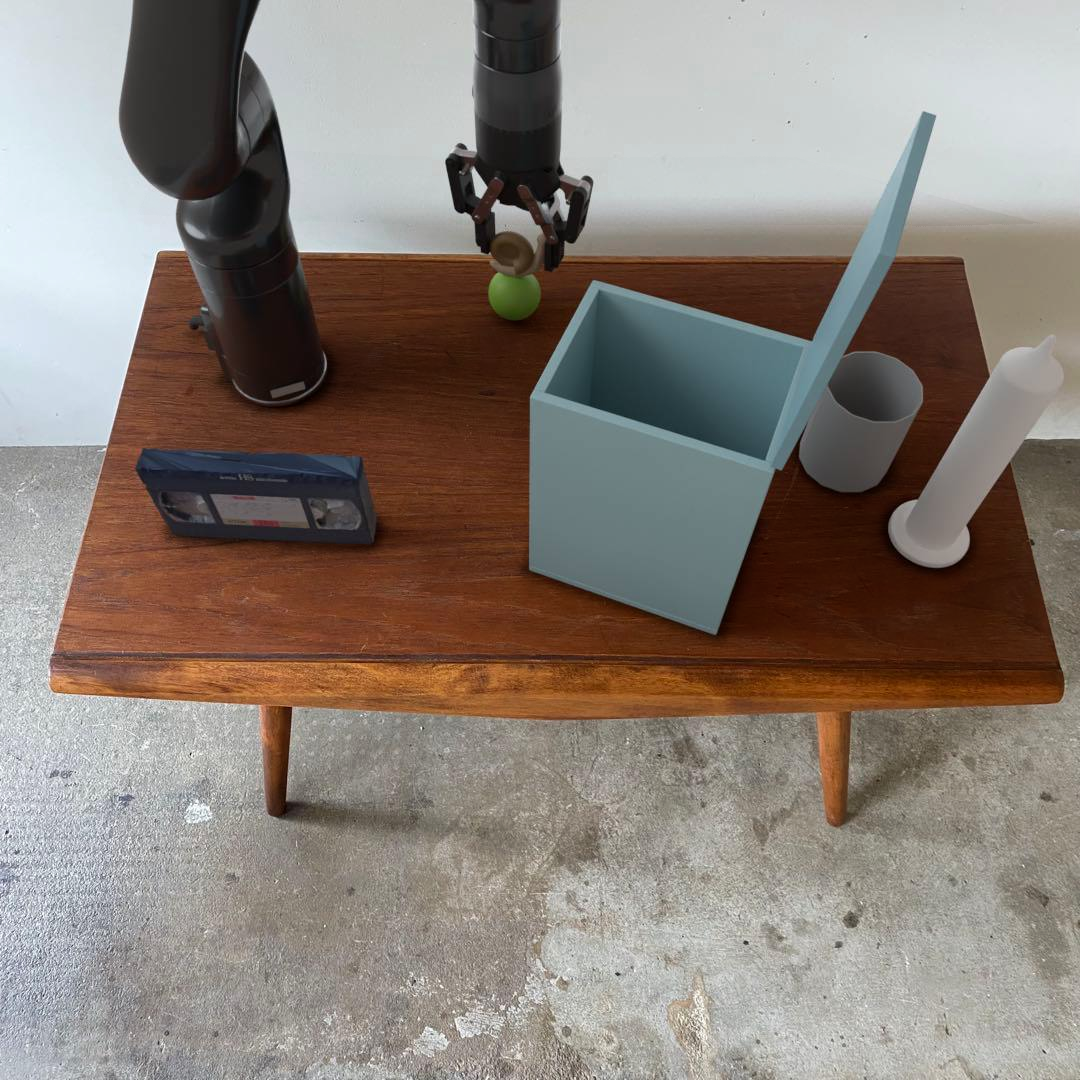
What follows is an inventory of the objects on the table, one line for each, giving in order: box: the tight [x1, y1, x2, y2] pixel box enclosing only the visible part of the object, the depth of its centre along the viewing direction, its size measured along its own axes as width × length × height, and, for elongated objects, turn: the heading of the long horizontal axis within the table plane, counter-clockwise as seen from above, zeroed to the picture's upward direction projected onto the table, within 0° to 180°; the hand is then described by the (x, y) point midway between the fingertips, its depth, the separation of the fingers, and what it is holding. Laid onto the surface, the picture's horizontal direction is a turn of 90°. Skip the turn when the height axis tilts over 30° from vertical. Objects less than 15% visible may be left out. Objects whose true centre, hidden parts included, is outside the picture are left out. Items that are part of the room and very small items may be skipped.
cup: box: [798, 351, 924, 493], centre depth 88 cm, size 8×8×10 cm
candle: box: [887, 333, 1065, 569], centre depth 77 cm, size 7×7×25 cm
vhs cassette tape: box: [134, 447, 378, 545], centre depth 82 cm, size 18×3×10 cm, turn 86°
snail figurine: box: [487, 230, 546, 321], centre depth 97 cm, size 5×6×12 cm
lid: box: [770, 110, 937, 471], centre depth 57 cm, size 18×13×1 cm
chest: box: [528, 279, 813, 636], centre depth 77 cm, size 17×13×23 cm
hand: (519, 257), depth 96 cm, fingers closed on snail figurine, 6 cm apart
